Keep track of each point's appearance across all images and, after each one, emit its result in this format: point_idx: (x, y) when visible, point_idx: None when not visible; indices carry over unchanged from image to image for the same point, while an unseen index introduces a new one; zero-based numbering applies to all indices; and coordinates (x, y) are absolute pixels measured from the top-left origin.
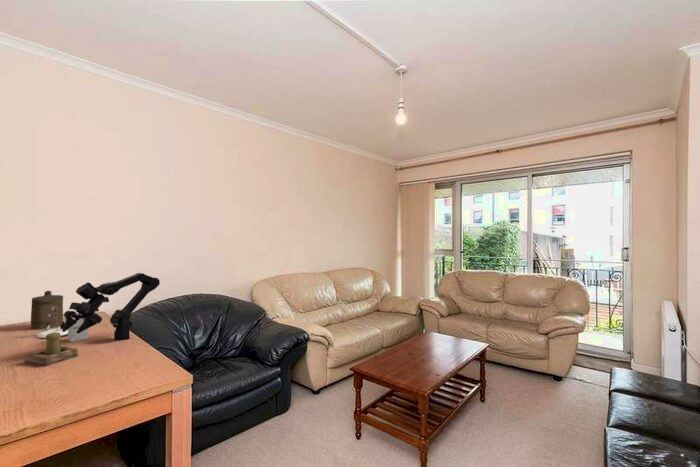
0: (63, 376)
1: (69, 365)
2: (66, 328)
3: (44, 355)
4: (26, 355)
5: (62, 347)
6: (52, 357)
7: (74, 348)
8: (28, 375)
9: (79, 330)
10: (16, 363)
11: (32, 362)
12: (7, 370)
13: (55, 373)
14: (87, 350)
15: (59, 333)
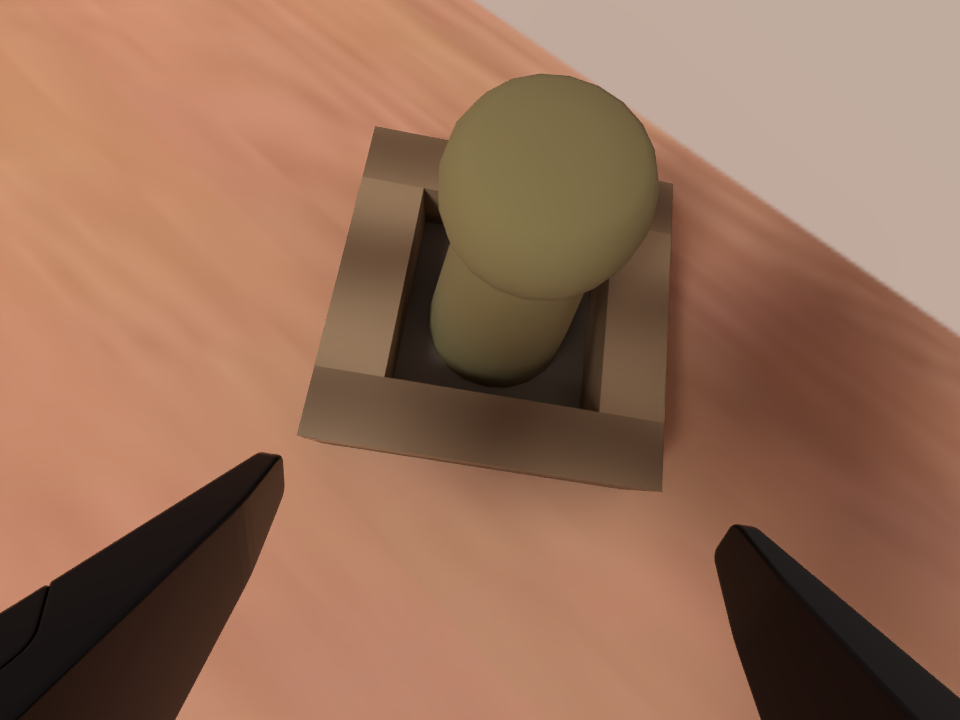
0: (51, 20)
1: (190, 211)
2: (765, 638)
3: None
4: None
5: (538, 446)
6: (365, 181)
7: (345, 433)
8: (348, 29)
9: (208, 502)
10: (695, 216)
11: None
12: None
13: (168, 63)
14: (368, 646)
15: (479, 207)
